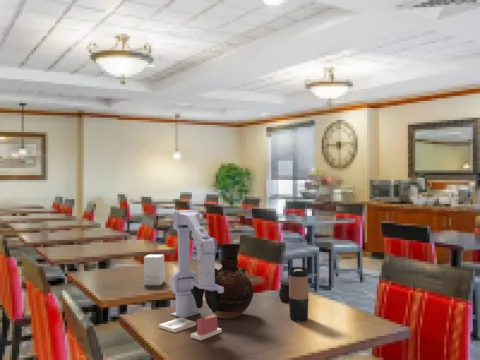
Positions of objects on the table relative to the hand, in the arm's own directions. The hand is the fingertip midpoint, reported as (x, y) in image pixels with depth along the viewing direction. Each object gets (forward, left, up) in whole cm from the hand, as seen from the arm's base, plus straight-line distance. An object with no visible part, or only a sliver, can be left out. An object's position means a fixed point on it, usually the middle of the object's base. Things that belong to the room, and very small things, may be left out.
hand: (207, 309), depth 168 cm
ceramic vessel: (-22, -9, -10) cm, 26 cm away
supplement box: (-40, -78, -10) cm, 88 cm away
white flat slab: (0, -16, -9) cm, 18 cm away
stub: (0, -1, -9) cm, 9 cm away
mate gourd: (-56, -4, -10) cm, 57 cm away
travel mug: (-37, +15, -10) cm, 41 cm away
